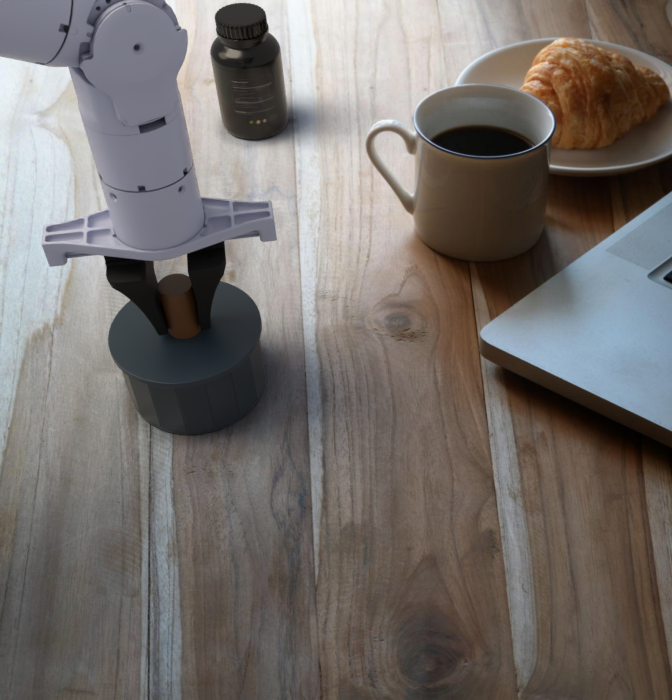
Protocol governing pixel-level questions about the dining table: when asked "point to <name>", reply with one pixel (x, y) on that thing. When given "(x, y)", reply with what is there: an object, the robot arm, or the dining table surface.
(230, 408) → the pot
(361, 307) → the dining table surface
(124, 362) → the lid
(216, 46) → the supplement bottle
